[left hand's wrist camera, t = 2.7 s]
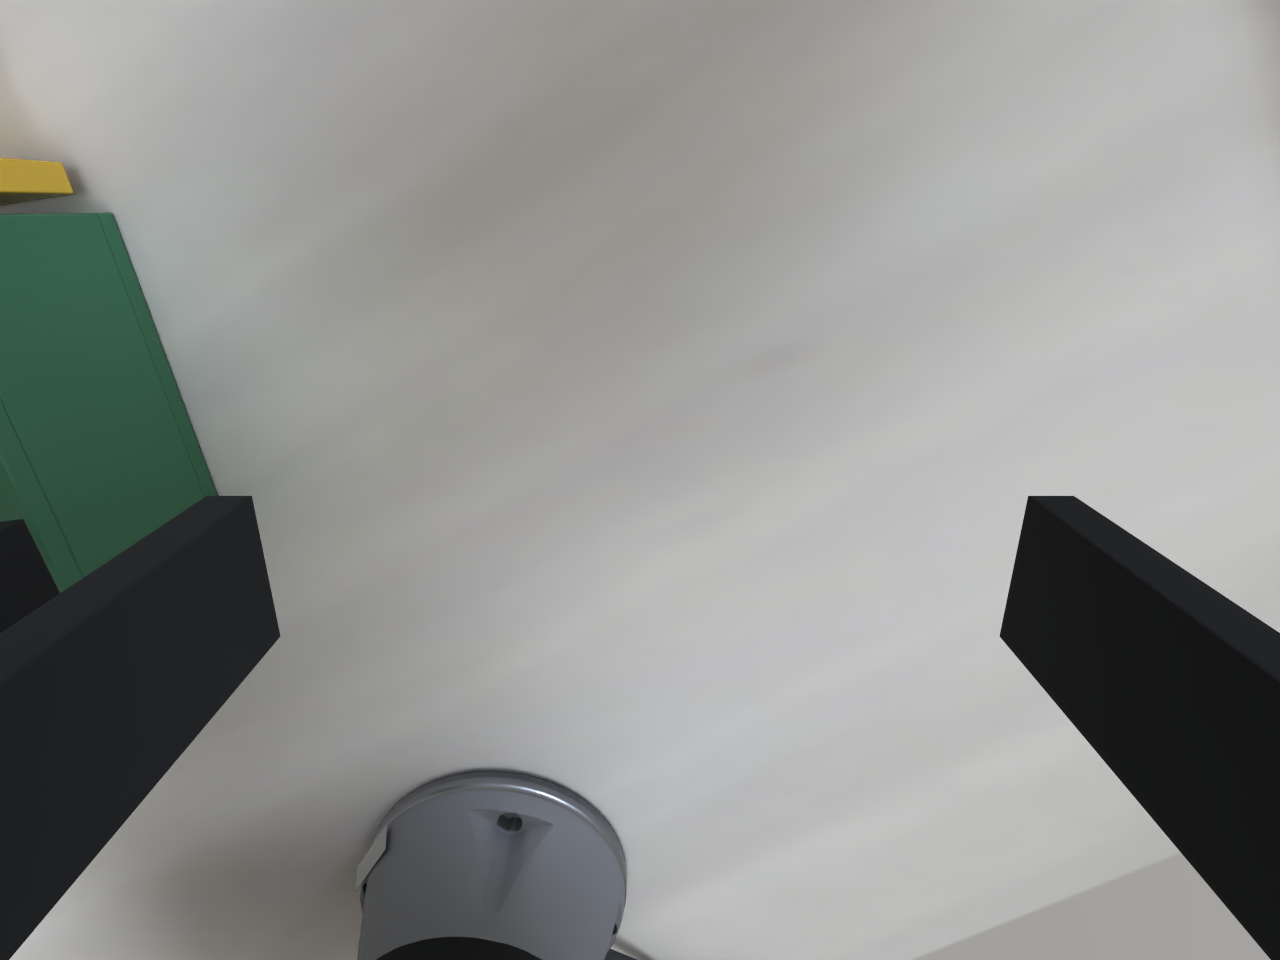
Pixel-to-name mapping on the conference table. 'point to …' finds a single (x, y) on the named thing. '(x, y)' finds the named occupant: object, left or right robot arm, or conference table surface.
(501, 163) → the conference table surface
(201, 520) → the left robot arm
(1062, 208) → the conference table surface
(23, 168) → the drawer
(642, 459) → the conference table surface
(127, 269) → the cabinet
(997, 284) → the conference table surface
